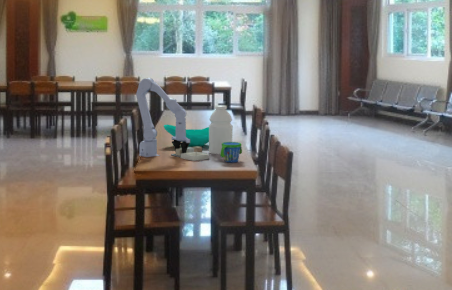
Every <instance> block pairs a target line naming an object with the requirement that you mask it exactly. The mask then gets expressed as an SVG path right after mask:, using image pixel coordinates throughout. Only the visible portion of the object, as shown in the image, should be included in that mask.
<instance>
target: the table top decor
mask: <svg viewBox="0 0 452 290" xmlns="http://www.w3.org/2000/svg"><path fill="white" fill-rule="evenodd" d="M163 128H164V130H165V131H166V132H167V133H169V134H170V135H171V137H173V136H175V137H176V125H173V124H164V125H163ZM186 137H187V138H188V139H190V144H189V146H188V147H191V148H192V147H196V146H199V147H203V146H206V145H207V144H209V126H208V127H204V128H202V129H196V128H195V129H194V128H191V129H189V128H186ZM181 142H182V141H181Z"/></svg>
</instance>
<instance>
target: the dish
mask: <svg viewBox="0 0 452 290" xmlns="http://www.w3.org/2000/svg"><path fill="white" fill-rule="evenodd" d="M205 153H206V152H203V153H200V152H190V153H182V154H181V157H180V159H181V160H186V161H192V162H195V161H203V160H209V159H210V153H207V154H205Z"/></svg>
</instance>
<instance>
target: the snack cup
mask: <svg viewBox="0 0 452 290" xmlns="http://www.w3.org/2000/svg"><path fill="white" fill-rule="evenodd" d="M241 154H243V147H242V143H241V142H238V141H232V142H224V143H222V149H221V154H219V155H220V157H221V158H223V159H224V162H226V163H229V164H230V163H238V162H239V158H240V155H241Z"/></svg>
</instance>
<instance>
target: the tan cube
mask: <svg viewBox="0 0 452 290" xmlns="http://www.w3.org/2000/svg"><path fill="white" fill-rule="evenodd" d="M191 148H194V152H200V153H202V152H203V146H200V147H199V146H196V147H191Z"/></svg>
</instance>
